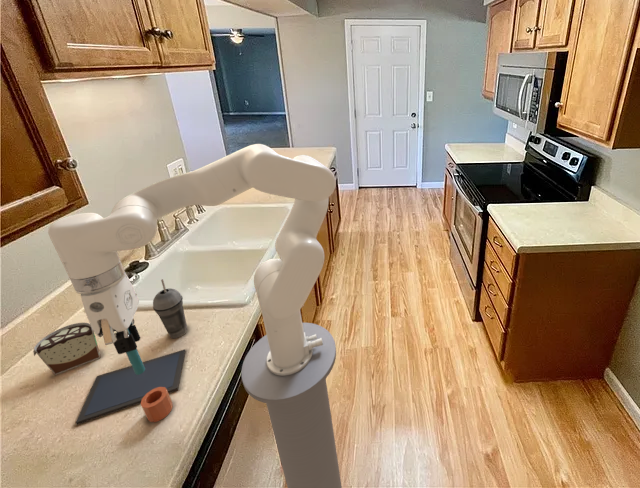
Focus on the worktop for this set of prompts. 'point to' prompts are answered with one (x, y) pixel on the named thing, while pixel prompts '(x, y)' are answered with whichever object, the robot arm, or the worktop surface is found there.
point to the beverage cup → (171, 311)
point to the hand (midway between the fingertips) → (129, 346)
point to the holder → (156, 404)
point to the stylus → (135, 361)
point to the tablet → (131, 385)
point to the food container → (68, 347)
